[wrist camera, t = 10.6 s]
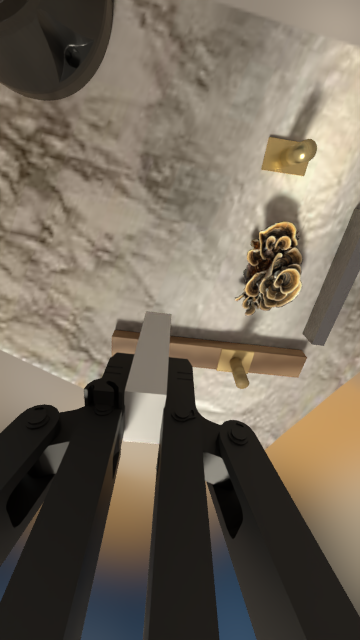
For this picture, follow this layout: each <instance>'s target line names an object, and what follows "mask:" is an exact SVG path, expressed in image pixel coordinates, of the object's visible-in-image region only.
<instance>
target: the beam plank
mask: <svg viewBox="0 0 360 640" xmlns="http://www.w3.org/2000/svg"><path fill="white" fill-rule="evenodd" d="M139 336H140V333H138V332H129V331H120V330H115V331H114V333H113V335H112V356H113V355H114V354H116V353H117V352H118V353H128V354H135V351H136V347H137V343H138V340H139ZM169 357H173V358H183V359H188V360H189V362H190V363H191V365H192V367H199V368H209V369H216V370H217V371H224V372H232V373H233V377H234V380H235V383H236V386H237V387H238V388H240V389H244V388H246V387H248V385H249V381H248V378H247V375H246V374H248V373H258V374H268V375H278V376H288V377H299V374H300V372H301V370H302V368H303V366H304V363H305V361H306V359H307V357H306V356H305V354H304V353H303V352H302V350H295V349H286V348H276V347H267V346H258V345H249V344H240V343H230V342H221V341H212V340H203V339H194V338H184V337H175V336H170V344H169Z"/></svg>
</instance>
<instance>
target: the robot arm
mask: <svg viewBox="0 0 360 640" xmlns="http://www.w3.org/2000/svg"><path fill="white" fill-rule="evenodd" d="M112 9H113V2H112V0H0V83H1V84H3V85H5V86H6V87H8V88H9V89H11V90H13V91H15V92H17V93H19V94H21V95H23V96H26V97H29V98H33V99H37V100H57V99H62V98H65V97H68V96H70V95H72V94H74V93H76V92H77V91H79V90H80V89H81V88H83V87H84V86H85V85H86V84H87V83H88V82H89V81H90V79H91V78H92V77H93V76H94V74H95V73H96V71H97V69H98V68H99V66H100V64H101V62H102V60H103V57H104V55H105V52H106V49H107V45H108V41H109V37H110V32H111V25H112ZM170 327H171V314H165V313H156V312H147V311H146V314H145V318H144V321H143V325H142V329H141V332H140V336H139V340H138V343H137V347H136V351H135V354H128V353H118V352H117V353H116V354H114V355H113V356H112V357H111V358H110V359H109V362H108V364H107V367H106V369H105V372H104V374H103V376H102V378H100V379H97V380H93V381H92V382H90V383H89V384H87V386H86V387H85V388H84V398H85V406H84V407H82V408H79V409H77V410H72V411H66V412H61V413H59V411H58V410H57V408H55V407H53V406H52V405H45V404H44V405H37V406H34V407H32V408H29V409H27V410H26V411H24V412H23V413H21V414H20V415H19V416H18V417H17V418H16V419H15V420H14V421H13V422H12V423H11V424H10V425H9V426H8V427H6V428H5V429H4V430H3V431H2V432H1V433H0V566H1V565H2V563H3V562H4V560H5V559H6V557H7V556H8V554H9V553H10V551H11V550H12V548H13V547H14V545H15V544H16V542H17V541H18V539H19V538H20V536H21V535H22V533H23V532H24V530H25V529H26V527H27V526H28V524H29V523H30V521H31V520H32V518H33V517H34V515H35V514H36V512H37V511H38V509H39V508H40V506H41V505H42V503H43V505H42V507H41V509H40V512H39V514H38V516H37V519H36V521H35V524H34V526H33V528H32V530H31V533H30V535H29V537H28V540H27V542H26V544H25V546H24V549H23V551H22V553H21V556H20V558H19V560H18V563H17V565H16V567H15V570H14V572H13V574H12V576H11V579H10V581H9V584H8V586H7V588H6V590H5V593H4V595H3V598H2V600H1V602H0V640H80V639H81V635H82V630H83V625H84V621H85V617H86V612H87V607H88V602H89V598H90V593H91V589H92V584H93V580H94V575H95V570H96V566H97V561H98V557H99V552H100V547H101V543H102V538H103V533H104V529H105V524H106V520H107V515H108V510H109V506H110V501H111V497H112V492H113V487H114V483H115V478H116V474H117V469H118V464H119V460H120V455H121V443H122V439H123V441H128V442H140V443H153V444H159V451H158V459H157V466H156V469H157V473H156V485H155V497H154V509H153V521H152V534H151V546H150V558H149V570H148V583H147V595H146V608H145V620H144V632H143V640H219V631H218V620H217V608H216V596H215V585H214V574H213V563H212V552H211V542H210V530H209V519H208V508H207V496H206V485H205V481H207V485H208V488H209V491H210V494H211V497H212V500H213V504H214V507H215V510H216V513H217V516H218V519H219V523H220V526H221V528H222V532H223V535H224V538H225V541H226V544H227V547H228V551H229V554H230V557H231V560H232V563H233V567H234V570H235V573H236V576H237V579H238V582H239V585H240V589H241V592H242V595H243V598H244V601H245V604H246V607H247V610H248V614H249V617H250V620H251V623H252V626H253V629H254V632H255V636H256V639H257V640H360V617H359V615H358V613H357V612H356V610H355V608H354V606H353V605H352V603H351V601H350V599H349V598H348V596H347V594H346V592H345V591H344V589H343V587H342V585H341V584H340V582H339V580H338V578H337V577H336V575H335V573H334V571H333V570H332V568H331V566H330V564H329V563H328V561H327V559H326V557H325V556H324V554H323V552H322V550H321V549H320V547H319V545H318V543H317V542H316V540H315V538H314V536H313V535H312V533H311V531H310V529H309V528H308V526H307V525H306V522H305V521H304V519H303V517H302V516H301V514H300V512H299V510H298V508H297V507H296V505H295V503H294V501H293V500H292V498H291V496H290V494H289V493H288V491H287V489H286V487H285V486H284V484H283V482H282V480H281V479H280V477H279V475H278V473H277V472H276V470H275V468H274V466H273V465H272V463H271V461H270V459H269V458H268V456H267V454H266V452H265V451H264V449H263V447H262V445H261V444H260V442H259V440H258V438H257V437H256V435H255V433H254V432H253V431H252V429H251V428H250V427H249V426H247V425H246V424H245V423H243V422H240V421H237V420H229V421H226V422H224V423H223V424H222V425H219V424H216V423H213V422H211V421H209V420H207V419H205V418H204V417H203V416H201V415H200V413H199V412H198V410H197V409H196V405H195V394H194V382H193V369H192V365H191V363H190V362H189V360H188V359H183V358H173V357H169V344H170Z"/></svg>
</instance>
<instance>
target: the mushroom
mask: <svg viewBox="0 0 360 640" xmlns="http://www.w3.org/2000/svg"><path fill="white" fill-rule="evenodd" d="M298 232H299V231H297V230H296V228H295V225H294V224H292V223H290V222H284V221H282V222H280V223H274V224H273V225H271V226H269V227H268V228H266V229H265V230H261V231H260V232H259V240H260V241H258V240H257V239H254V240H252V241H251V246H252V247H253V250H250V251H249V252H248V253H247V260H248V262H249V263H248V265H247V269H245V270H244V271H243V273H244V274H243V275H244V278H245V283H246V286H245V288H244V291H245V292H244V293H243V294H242V295H240V296H239V297H236V298H235V301H238V300H240V299H241V298H242V297H245V299H244V300H243V303H242V306H243V307H244V309H247V310H246V312H245V315H246V316H249V315H252V314H254V313H255V311H256V309H259V308H260V309H261V310H264V311H268V310H270V309H271V308H272V307H275V306H276V307H283V306H284V305H286V304H288V303H289V302H292V301H293V300H294V299H295V298H296V297H297V296H298V294H299V293H300V291H301V289H302V282H301V280H300V275H301V272H302V271H301V267H300V266H299V265H300V264H302V260H303V257H302V255H301V253H300V252H299V250H298V249H297V248H296V246H297V244H298V241H297V240H298V238H296V237H297V236H296V234H297V233H298ZM298 237H299V236H298ZM248 304H249V305H248Z"/></svg>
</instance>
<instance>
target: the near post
mask: <svg viewBox="0 0 360 640" xmlns="http://www.w3.org/2000/svg"><path fill="white" fill-rule="evenodd" d="M316 151H317V145H316V143H315V141H314V140H312V139H307V140H304V141H302V142H296V141H290V140H284V139H278V138H272V137H269V140H268V144H267V148H266V152H265V156H264V160H263V165H262V169H261V170H267V171H274V172H280V173H286V174H293V175H299V176H304V175H305V172H306V168H307V165H308V162H309V161H310V160H311V159H312V158H313V157H314V156H315V154H316Z"/></svg>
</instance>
